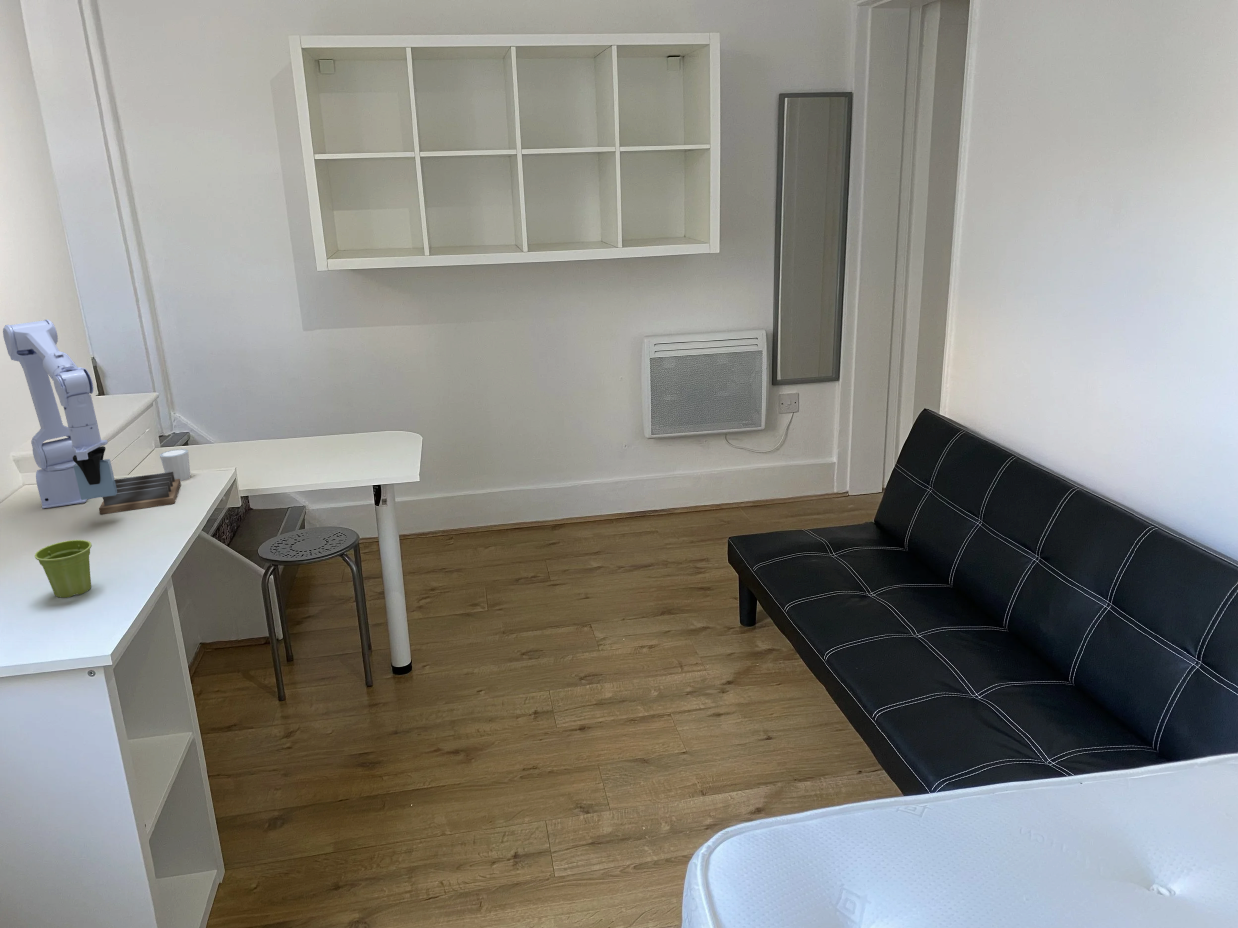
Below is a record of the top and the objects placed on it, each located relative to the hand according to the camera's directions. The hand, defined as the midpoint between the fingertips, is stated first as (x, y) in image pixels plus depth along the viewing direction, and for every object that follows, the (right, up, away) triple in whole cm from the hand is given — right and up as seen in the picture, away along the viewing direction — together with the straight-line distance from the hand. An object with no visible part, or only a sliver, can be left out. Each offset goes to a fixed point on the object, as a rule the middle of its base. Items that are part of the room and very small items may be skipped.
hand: (96, 482), depth 212 cm
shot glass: (+4, 0, +32) cm, 32 cm away
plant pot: (+15, -20, -34) cm, 42 cm away
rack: (+2, -4, +17) cm, 18 cm away
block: (0, -3, +1) cm, 3 cm away
